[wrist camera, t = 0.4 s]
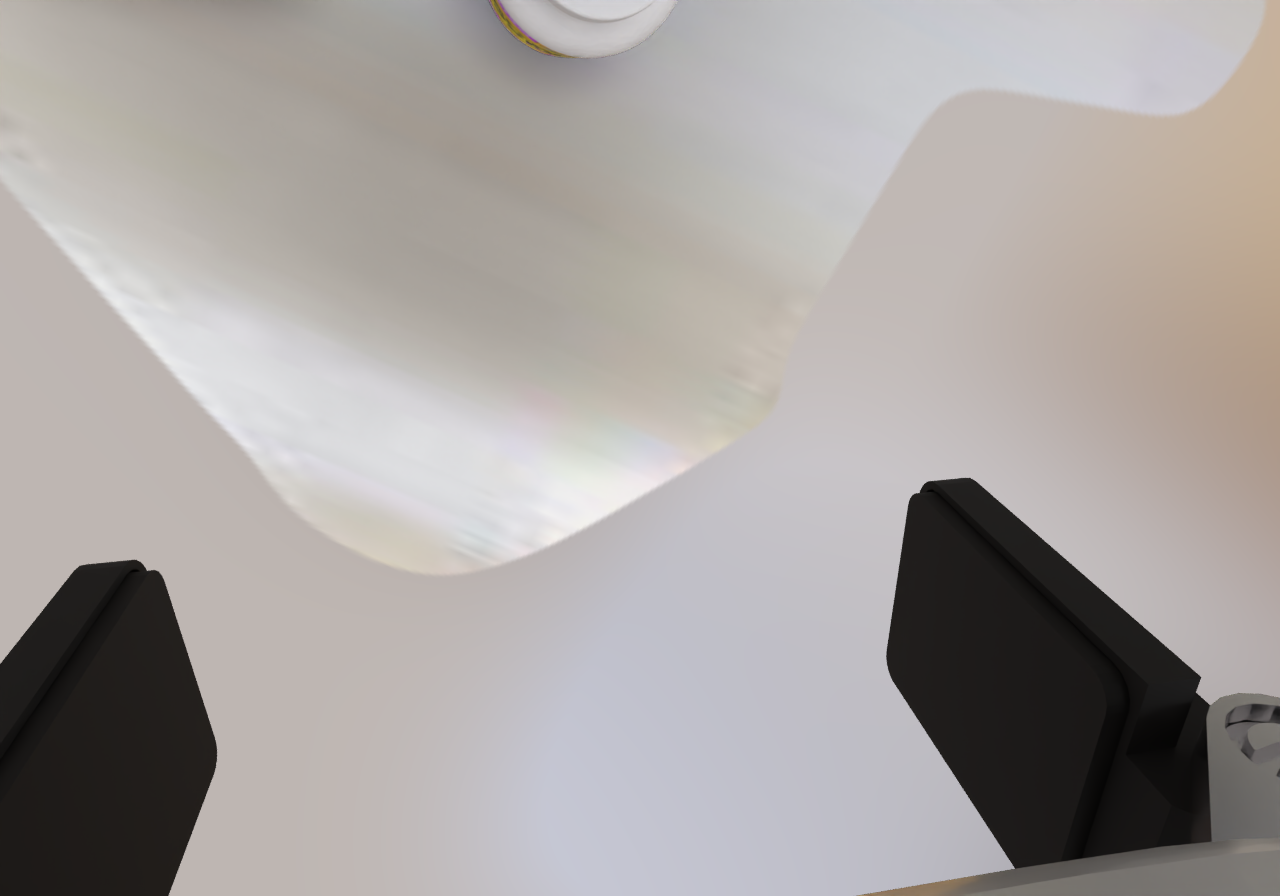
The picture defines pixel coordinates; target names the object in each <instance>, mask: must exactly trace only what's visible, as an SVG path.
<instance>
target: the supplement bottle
mask: <svg viewBox="0 0 1280 896" xmlns="http://www.w3.org/2000/svg"><path fill="white" fill-rule="evenodd" d="M677 1H678V0H489V2H490V4H491V7H492V8H493V10H494V12H495V14H496V15H497V17H498V18H499V20H500V21H501V23H502V24H503V25H504V26H505V28H506V29H507V30H508V31H509V32H510V33H511V34H512V35H513V36H514V37H516V38H517V39H518V40H519V41H521V42H522V43H523V44H525V45H527V46H528V47H530V48H532V49H534V50H536V51H538V52H541V53H544V54H547V55H551V56H556V57H566V58H567V57H568V58H600V57H607V56H612V55H615V54H619V53H622V52H624V51H627V50H629V49H631V48H633V47H635V46H637V45H639V44H640V43H642V42H643V41H644V40H646V39H647V38H648V37H650V36H651V35H652V34H653V33H654V32H655V31H656V30H657V29H658V28H659V27H660V26H661V25H662V24H663V23H664V21H665V20H666V19H667V18H668V16H669V14H670V13H671V11H672V10H673V8H674V7H675V5H676V3H677Z"/></svg>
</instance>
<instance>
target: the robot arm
mask: <svg viewBox="0 0 1280 896" xmlns="http://www.w3.org/2000/svg"><path fill="white" fill-rule="evenodd" d="M886 657H887V666H888V670H889V673H890V676H891V678H892V680H893V682H894V683H895V685H896V687H897V688H898V689H899V691H900V692H901V694H902V696H903V697H904V699H905V700H906V702H907V703H908V705H909V706H910V708H911V709H912V711H913V713H914V714H915V716H916V717H917V719H918V720H919V722H920V723H921V725H922V726H923V728H924V729H925V731H926V732H927V734H928V736H929V737H930V738H931V740H932V742H933V743H934V745H935V746H936V748H937V749H938V751H939V752H940V754H941V755H942V757H943V759H944V760H945V762H946V763H947V765H948V766H949V768H950V769H951V771H952V772H953V774H954V775H955V777H956V779H957V780H958V782H959V783H960V785H961V786H962V788H963V789H964V791H965V792H966V794H967V795H968V797H969V798H970V800H971V801H972V803H973V804H974V806H975V808H976V809H977V811H978V812H979V814H980V815H981V817H982V818H983V820H984V822H985V823H986V825H987V826H988V828H989V829H990V831H991V832H992V834H993V835H994V837H995V838H996V840H997V841H998V843H999V844H1000V846H1001V848H1002V849H1003V851H1004V852H1005V854H1006V855H1007V857H1008V858H1009V860H1010V861H1011V863H1012V864H1013V866H1014V868H1015V869H1011V870H1005V871H1000V872H994V873H988V874H983V875H976V876H970V877H964V878H958V879H953V880H946V881H941V882H935V883H929V884H923V885H917V886H911V887H906V888H900V889H893V890H887V891H881V892H876V893H870V894H864V895H858V896H1280V698H1278V697H1273V696H1268V695H1263V694H1245V693H1244V694H1243V693H1238V694H1233V695H1229V696H1224V697H1221V698H1219V699H1218V700H1217V701H1216V702H1214V703H1213V704H1212V705H1209V704H1208V703H1207V702H1206V701H1205V700H1204V699H1203V698H1201V697H1200V696H1199V695H1198V694H1197V693H1196V690H1197V687H1198V685H1199V682H1200V679H1201V677H1200V676H1199V675H1198V674H1197V673H1196V672H1195V671H1193V670H1192V669H1191V668H1190V667H1189V666H1188V665H1186V664H1185V663H1184V662H1183V661H1182V660H1181V659H1180V658H1178V657H1177V656H1176V655H1175V654H1174V653H1173V652H1172V651H1170V650H1169V649H1168V648H1167V647H1165V645H1164V644H1162V643H1161V642H1160V641H1159V640H1158V639H1157V638H1156V637H1154V636H1153V635H1152V634H1151V633H1150V632H1149V631H1147V630H1146V629H1145V628H1144V627H1143V626H1142V625H1140V624H1139V623H1138V622H1137V621H1136V620H1135V619H1134V618H1132V617H1131V616H1130V615H1129V614H1128V613H1127V612H1126V611H1124V610H1123V609H1122V608H1121V607H1120V606H1119V605H1118V604H1116V603H1115V602H1114V601H1113V600H1112V599H1111V598H1109V597H1108V596H1107V595H1106V594H1105V593H1104V592H1102V591H1101V590H1100V589H1099V588H1098V587H1097V586H1096V585H1094V584H1093V583H1092V582H1091V581H1090V580H1089V579H1088V578H1086V577H1085V576H1084V575H1083V574H1082V573H1081V572H1080V571H1078V570H1077V569H1076V568H1075V567H1074V566H1072V564H1070V563H1069V562H1068V561H1067V560H1066V559H1065V558H1063V557H1062V556H1061V555H1060V554H1059V553H1058V552H1057V551H1055V550H1054V549H1053V548H1052V547H1051V546H1050V545H1048V544H1047V543H1046V542H1045V541H1044V540H1043V539H1042V538H1040V537H1039V536H1038V535H1037V534H1036V533H1035V532H1033V531H1032V530H1031V529H1030V528H1029V527H1028V526H1027V525H1026V524H1024V523H1023V522H1022V521H1021V520H1020V519H1019V518H1017V517H1016V516H1015V515H1014V514H1013V513H1012V512H1010V511H1009V510H1008V509H1007V508H1006V507H1005V506H1003V505H1002V504H1001V503H1000V502H999V501H998V500H997V499H996V498H994V497H993V496H992V495H991V494H990V493H989V492H988V491H986V490H985V489H984V488H983V487H982V486H981V485H979V484H978V483H977V482H976V481H974V480H973V479H971V478H959V479H949V480H939V481H929V482H927V483H925V484H924V485H923V487H922V488H921V490H920V493H916V494H914V495H912V497H911V498H910V501H909V504H908V511H907V517H906V524H905V531H904V538H903V544H902V552H901V558H900V565H899V571H898V578H897V585H896V591H895V598H894V605H893V612H892V619H891V626H890V633H889V639H888V646H887V655H886ZM216 762H217V746H216V741H215V737H214V734H213V731H212V728H211V724H210V721H209V718H208V715H207V712H206V709H205V706H204V703H203V700H202V697H201V693H200V691H199V687H198V684H197V681H196V678H195V675H194V672H193V669H192V665H191V662H190V659H189V656H188V653H187V650H186V647H185V644H184V641H183V638H182V634H181V631H180V629H179V625H178V622H177V619H176V616H175V612H174V609H173V606H172V603H171V600H170V597H169V594H168V591H167V588H166V585H165V582H164V579H163V577H162V575H161V574H160V573H159V572H158V571H156V570H151V571H147V570H146V568H145V567H144V565H143V564H142V563H141V562H139V561H137V560H129V561H128V560H127V561H117V562H109V563H108V562H107V563H97V564H87V565H82V566H79V567H78V568H77V569H76V570H74V572H73V573H72V574H71V575H70V577H69V578H68V579H67V581H66V582H65V583H64V584H63V585H62V587H61V588H60V589H59V591H58V592H57V593H56V594H55V596H54V597H53V598H52V599H51V601H50V602H49V603H48V604H47V606H46V607H45V608H44V609H43V611H42V612H41V613H40V615H39V616H38V617H37V618H36V620H35V621H34V622H33V623H32V625H31V626H30V627H29V629H28V630H27V631H26V632H25V633H24V635H23V636H22V637H21V639H20V640H19V641H18V642H17V644H16V645H15V646H14V647H13V649H12V650H11V651H10V652H9V654H8V655H7V656H6V657H5V659H4V660H3V661H2V663H1V664H0V896H168V895H169V893H170V890H171V887H172V885H173V882H174V879H175V877H176V874H177V871H178V868H179V866H180V863H181V861H182V858H183V855H184V852H185V850H186V847H187V845H188V842H189V839H190V837H191V834H192V831H193V829H194V826H195V823H196V820H197V817H198V815H199V812H200V810H201V807H202V804H203V802H204V799H205V796H206V794H207V791H208V788H209V786H210V783H211V780H212V778H213V775H214V772H215V768H216Z"/></svg>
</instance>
